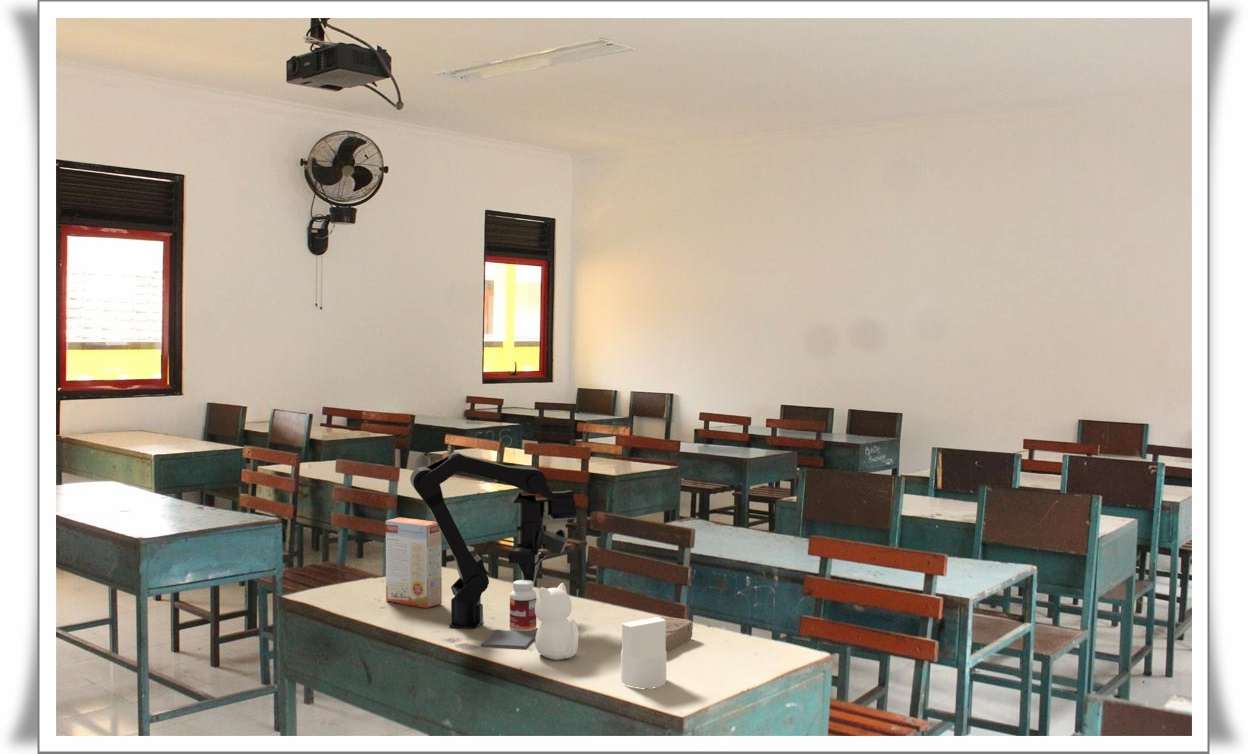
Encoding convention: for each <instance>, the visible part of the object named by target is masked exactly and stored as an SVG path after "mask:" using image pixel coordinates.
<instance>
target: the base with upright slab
mask: <svg viewBox="0 0 1248 754" xmlns="http://www.w3.org/2000/svg"><path fill="white" fill-rule="evenodd" d="M659 617H660V616H659ZM659 617H658V616H654V617H650V618H645V619H639V620H638V619H637V620H634V621H628V622H622V623H621V625H622V626H621V651H620V682H621V681H622V683H624V684H626V685H629V686H633V687H639V688H653V687H658V688H660V687H659V686H662V685H664V684H665V683H666V684H667V652H666V620H664V619H662V618H659ZM622 683H621V684H622ZM666 684H665V685H666ZM665 685H664V686H665ZM662 687H663V686H662ZM653 689H654V688H653Z"/></svg>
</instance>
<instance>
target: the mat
mask: <svg viewBox="0 0 1248 754" xmlns="http://www.w3.org/2000/svg"><path fill="white" fill-rule="evenodd" d="M536 633H537V631H530V632H525V631H512V630H503V629H502V630H501V629H500V630H499V629H495V630H493V632H492V633H490V634H489V635H488V636H487V637H486V638H485V639H484V640H483V641H482V642H481V643H480V644H481V645H480V647H482V648H483V647H485V648H489V647H490V648H500V649H501V648H504V649H519V648H521V649H523V650H526V649H527V648H528V647H529V646H530V645H531V643H532V642H533V641H534V640H536V638H535V637H536ZM521 649H520V650H521Z"/></svg>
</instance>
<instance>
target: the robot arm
mask: <svg viewBox="0 0 1248 754" xmlns="http://www.w3.org/2000/svg"><path fill="white" fill-rule="evenodd" d="M458 472H463V473H466V474H467V473H468V474H471V475H476V476H479V477H484V478H488V479H492V480H496V481H500V482H503V483H506V484H509V485H511V486H513V487H514V488H515V487H516V488H517V489H519V490H522V491H524V492H526V493H529V494H522V493H521V492H520V491H517V492H516V494H515V495H513V497H511V498H510V500H511V502H513V503H514V504H519V524H518V525H517V527H516V531H519V537H518V539H519V540H518V541H519V542H517V543H516V548H514V549H513V550H512V551H511V552H510V553H509V554H508V563H509V564H518V566H519V568H520V570H521V571H522V575H523V576H524V580H531V581H533V584H534V585H535V582H536V578H537V573H538V569H539V567H540V562H542V561H543V560H544V559H545V558H546V556H547V554H546V553H545V554H544V553H543V554H542V551H541V550H542V549H546V550H547V551H552V552H553V553H555V554H558V555H561V554H562V553H564V551H565V549H566V547H567V544H568V540H569V539H568V537H567V534H566V530H563V529H561V528H559V529H558V530H557V531H556V532H555V531H550V530H548V525H547V524H546V523H545V522H544V520H545V519H544V518H545V516H547V517H549V519H550V520H551V521H555V520H557V521H559V520H575V518H576V514H577V505H576V501H575V497H574V494H575V493H574V491H572V490H568V489H567V490H564V491H562V490H561V491H552V489H550V487H549V486H548V485H547V484H546V483H547V479H546V476H545V474H544V473H543V472H542V471H541V470H539V469H537V468H536V467H533V466H527V465H505V464H502V463H498V462H493V461H490V460H485V459H481V458H477V457H474V456H470V455H466V454H462V453H460V452H459V451H457V452H456V451H454V452H451V453H449V455H447V456H445V457H444V458H441V459H439V460H437V461H434V462H433V463H431V464H429V465H428V466H420V467H417V468H415V469H413V471H412V472H411V475H410V479H409V480H410V484H411V486H412V488H413V489H414V490H415V491H416V492H417V494H418V495H419V497H420V498H421V500H422V501H423V502H424V503H425V505H426V506H427V507H428V508H429V511H430V512H431V514H432V516H433V518H434V520H435V522H437V524H438V526H439V528H440V530H441V535H442V536H443V538H444V540H445V542H446V544H447V545H448V547H449V549H450V552H451V554H452V555H453V557H454V561H455V565H456V569H457V572H458V576H459V578H458V579H457V580H455V582H454V583H453V584H452V585H451V586H450V588H451V591H452V594H453V598H451V600H450V601H451V603H450V611H451V612H450V614H451V615H450V619H451V620H450V621H451V622H450V623H449V624H448V627H449V628H461V629H476V628H478V627H479V626H481V624H482V623H483V622H484V605H483V604H482V601H481V600H482V597H481V596H482V594H483V593H484V592H485V591H486V590H487V589H488V588H489V587H488V586H489V584H490V579H489V577H488V576H490V572H489V571H488V570H487V568H485V564H484V560H483V559H482V558H481V557H480V555H479V554H476V555H475V556H473V555H472V554H471V552H470V551H469V550H470V549H469V548H468V546H467V544H466V542H465V540H464V538H463V536H462V534H461V532H460V530H459V528H458V526H457V525H456V523H455V520H454V518H453V517H452V514H451V513H450V510H449V509H448V507H447V505H446V502H445V498H444V494H443V491H442V486H441V484H442V483H444V482H446V481H447V480H448V479H450V478H451V477H452V476H453V475H455V474H457V473H458ZM535 494H538V495H540V496H542V497H536V495H535ZM544 513H545V514H544ZM544 515H545V516H544Z"/></svg>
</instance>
